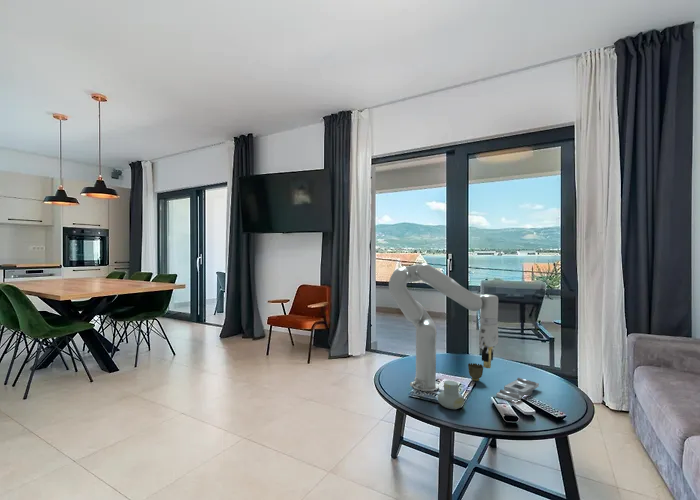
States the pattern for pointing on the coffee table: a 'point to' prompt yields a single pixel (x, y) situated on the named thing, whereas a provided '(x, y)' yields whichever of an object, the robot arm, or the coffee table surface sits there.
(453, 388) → the air freshener
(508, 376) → the coffee table surface
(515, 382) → the plate with square hole
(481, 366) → the cup
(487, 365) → the brass pin
